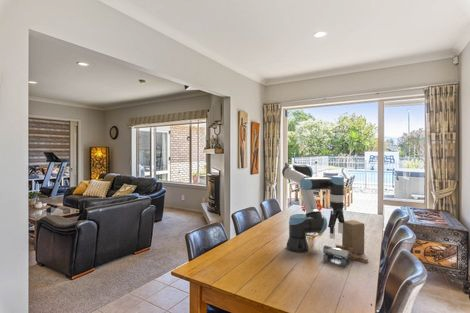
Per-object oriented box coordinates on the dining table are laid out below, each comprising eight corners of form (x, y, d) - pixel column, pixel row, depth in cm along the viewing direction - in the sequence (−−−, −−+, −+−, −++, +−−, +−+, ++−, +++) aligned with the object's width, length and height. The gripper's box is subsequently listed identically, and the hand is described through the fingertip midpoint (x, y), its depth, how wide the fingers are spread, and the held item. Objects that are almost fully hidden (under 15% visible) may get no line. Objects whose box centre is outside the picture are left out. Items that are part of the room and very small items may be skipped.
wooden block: (351, 255, 173) (352, 224, 173) (341, 249, 183) (342, 220, 183) (364, 253, 176) (364, 223, 176) (354, 248, 185) (354, 219, 185)
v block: (323, 261, 163) (323, 254, 163) (328, 257, 169) (328, 250, 169) (344, 267, 154) (344, 260, 154) (349, 262, 161) (350, 256, 161)
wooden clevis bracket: (330, 256, 171) (330, 248, 171) (337, 251, 179) (337, 244, 179) (365, 265, 157) (365, 256, 157) (370, 259, 165) (370, 251, 165)
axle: (322, 254, 165) (323, 246, 165) (326, 252, 168) (326, 244, 169) (346, 260, 155) (346, 251, 156) (348, 258, 159) (349, 250, 159)
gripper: (335, 205, 150) (334, 242, 150) (350, 199, 168) (349, 232, 169) (322, 203, 154) (322, 239, 155) (338, 197, 173) (337, 229, 174)
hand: (336, 235), depth 162 cm, fingers open, 13 cm apart
